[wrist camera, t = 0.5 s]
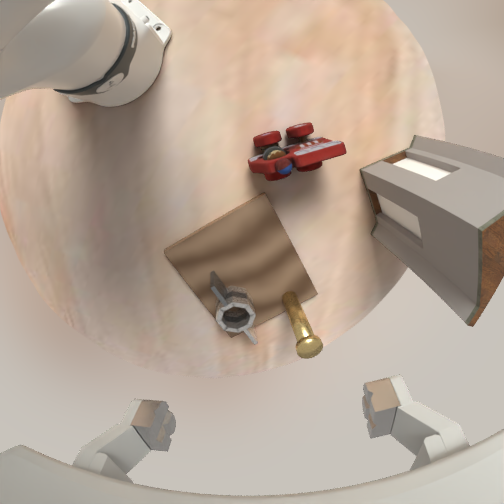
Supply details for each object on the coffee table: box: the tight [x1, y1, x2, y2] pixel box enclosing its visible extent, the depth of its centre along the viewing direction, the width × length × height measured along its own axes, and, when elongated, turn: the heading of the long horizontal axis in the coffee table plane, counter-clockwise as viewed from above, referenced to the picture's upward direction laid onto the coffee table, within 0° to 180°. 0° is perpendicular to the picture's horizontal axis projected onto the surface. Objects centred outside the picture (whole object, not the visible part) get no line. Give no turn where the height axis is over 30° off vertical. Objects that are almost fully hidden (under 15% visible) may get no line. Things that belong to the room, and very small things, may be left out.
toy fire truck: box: [248, 123, 346, 181], centre depth 39 cm, size 7×12×10 cm, turn 107°
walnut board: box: [164, 193, 318, 338], centre depth 51 cm, size 22×19×1 cm
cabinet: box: [360, 135, 504, 327], centre depth 35 cm, size 21×10×28 cm, turn 159°
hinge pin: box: [282, 291, 323, 358], centre depth 48 cm, size 4×4×14 cm
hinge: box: [210, 271, 258, 345], centre depth 50 cm, size 15×6×5 cm, turn 29°
